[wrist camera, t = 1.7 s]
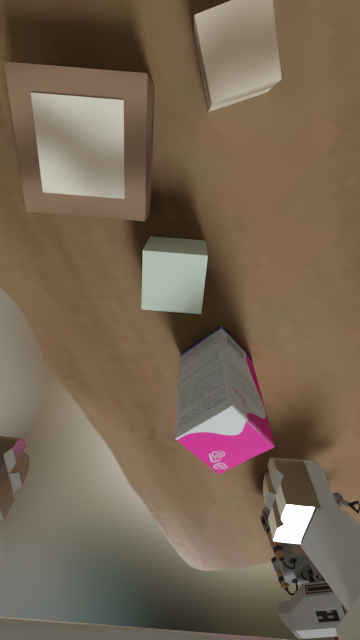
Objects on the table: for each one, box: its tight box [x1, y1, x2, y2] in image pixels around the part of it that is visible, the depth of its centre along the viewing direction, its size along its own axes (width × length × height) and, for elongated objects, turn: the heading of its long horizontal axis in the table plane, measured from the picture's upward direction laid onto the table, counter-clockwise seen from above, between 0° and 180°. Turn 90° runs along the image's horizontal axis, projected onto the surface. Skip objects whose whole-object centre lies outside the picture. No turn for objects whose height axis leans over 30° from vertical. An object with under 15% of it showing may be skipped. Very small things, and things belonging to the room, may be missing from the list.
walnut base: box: [4, 62, 154, 221], centre depth 23 cm, size 9×9×4 cm
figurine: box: [261, 493, 360, 640], centre depth 37 cm, size 9×12×15 cm
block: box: [194, 0, 281, 112], centre depth 21 cm, size 4×4×4 cm
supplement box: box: [175, 326, 275, 474], centre depth 29 cm, size 6×6×12 cm
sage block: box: [142, 236, 208, 314], centre depth 27 cm, size 5×5×5 cm
